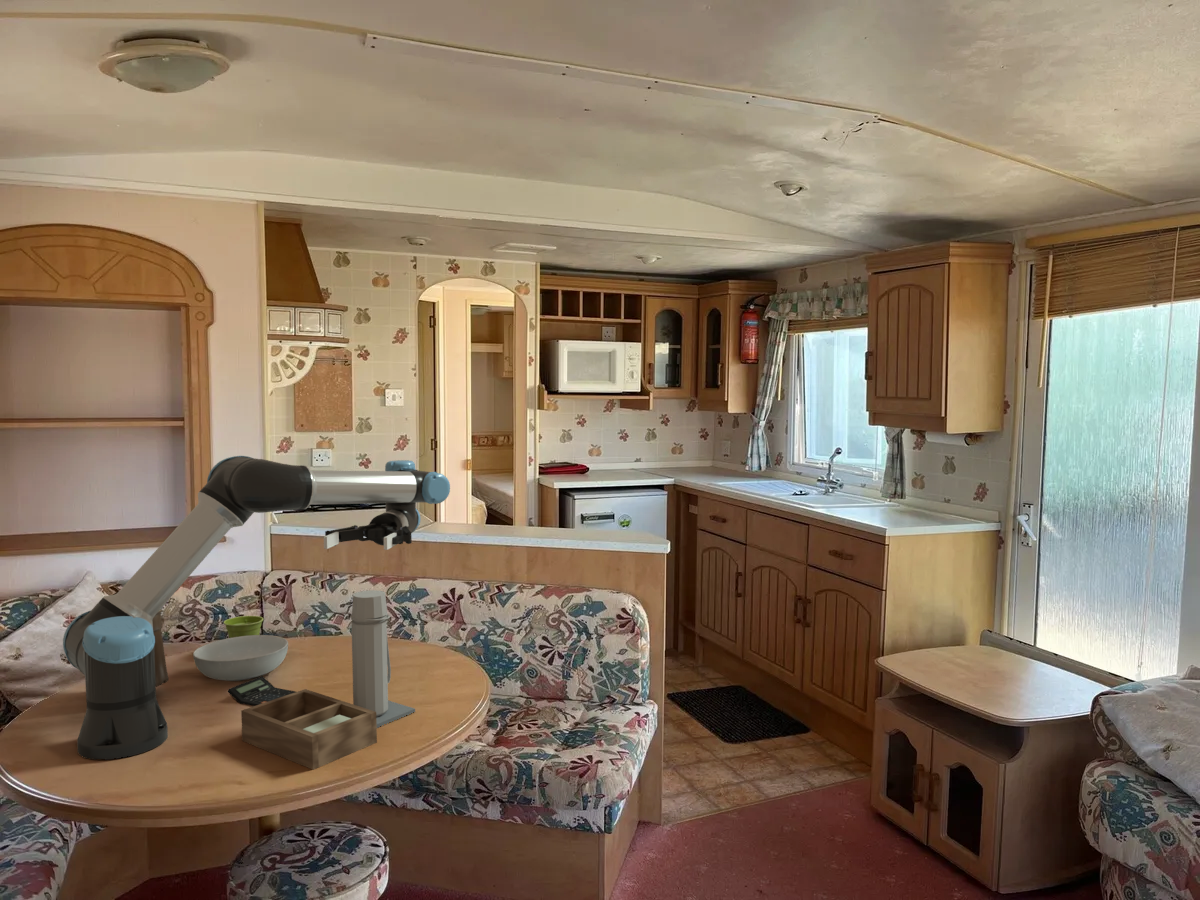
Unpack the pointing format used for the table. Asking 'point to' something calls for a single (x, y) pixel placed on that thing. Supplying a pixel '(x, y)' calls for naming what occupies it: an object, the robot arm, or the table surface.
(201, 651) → the serving bowl
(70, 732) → the table surface
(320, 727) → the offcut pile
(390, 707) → the slate mat
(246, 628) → the plant pot
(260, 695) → the calculator
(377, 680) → the water bottle
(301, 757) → the walnut divided tray
